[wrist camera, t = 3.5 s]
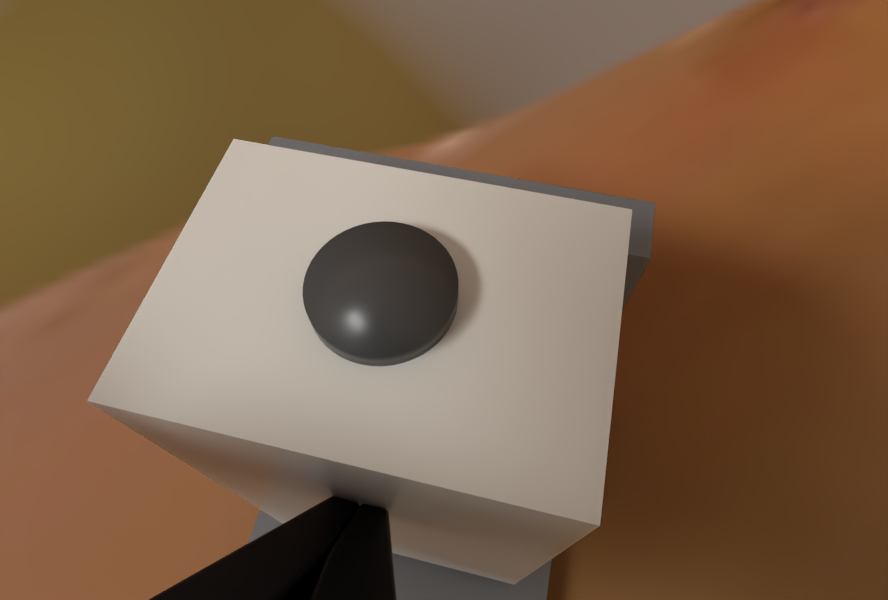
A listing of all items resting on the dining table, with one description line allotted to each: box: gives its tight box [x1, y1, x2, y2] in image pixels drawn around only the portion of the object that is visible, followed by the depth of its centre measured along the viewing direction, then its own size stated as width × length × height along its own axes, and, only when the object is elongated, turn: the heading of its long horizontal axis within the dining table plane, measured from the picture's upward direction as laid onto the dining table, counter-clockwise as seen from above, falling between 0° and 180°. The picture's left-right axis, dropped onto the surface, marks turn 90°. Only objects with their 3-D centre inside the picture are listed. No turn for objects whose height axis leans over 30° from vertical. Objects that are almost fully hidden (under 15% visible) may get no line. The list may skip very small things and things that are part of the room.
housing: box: [248, 136, 655, 600], centre depth 12 cm, size 8×7×8 cm
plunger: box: [87, 139, 632, 585], centre depth 11 cm, size 4×6×9 cm
